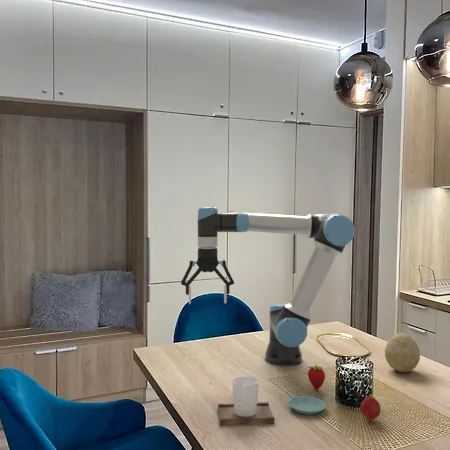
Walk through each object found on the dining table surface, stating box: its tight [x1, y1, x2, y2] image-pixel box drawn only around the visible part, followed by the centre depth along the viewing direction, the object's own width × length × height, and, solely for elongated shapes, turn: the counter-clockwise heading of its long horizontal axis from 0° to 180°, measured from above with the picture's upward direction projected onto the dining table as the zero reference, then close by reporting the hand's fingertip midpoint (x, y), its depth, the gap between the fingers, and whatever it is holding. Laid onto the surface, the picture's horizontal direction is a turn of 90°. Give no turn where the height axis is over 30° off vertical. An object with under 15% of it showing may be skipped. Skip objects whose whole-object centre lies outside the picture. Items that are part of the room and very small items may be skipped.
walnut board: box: [217, 401, 276, 426], centre depth 147 cm, size 16×11×2 cm
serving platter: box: [315, 332, 371, 357], centre depth 219 cm, size 19×35×2 cm, turn 4°
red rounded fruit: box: [359, 394, 381, 422], centre depth 144 cm, size 6×6×8 cm
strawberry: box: [307, 362, 326, 391], centre depth 167 cm, size 6×8×10 cm
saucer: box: [287, 395, 327, 415], centre depth 152 cm, size 12×12×2 cm
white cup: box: [232, 375, 259, 417], centre depth 147 cm, size 8×8×10 cm
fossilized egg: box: [384, 332, 421, 373], centre depth 186 cm, size 13×13×15 cm
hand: (207, 303), depth 184 cm, fingers open, 13 cm apart
